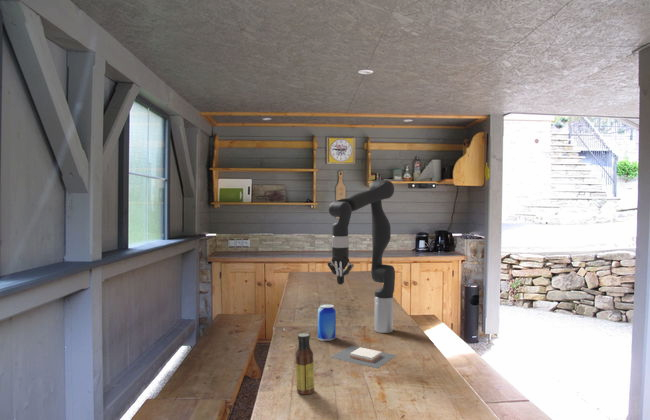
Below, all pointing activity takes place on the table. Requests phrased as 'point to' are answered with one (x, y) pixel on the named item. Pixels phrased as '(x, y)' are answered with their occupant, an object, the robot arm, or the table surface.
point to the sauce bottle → (304, 366)
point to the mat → (377, 363)
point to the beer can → (326, 322)
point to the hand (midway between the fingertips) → (340, 284)
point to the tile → (365, 354)
